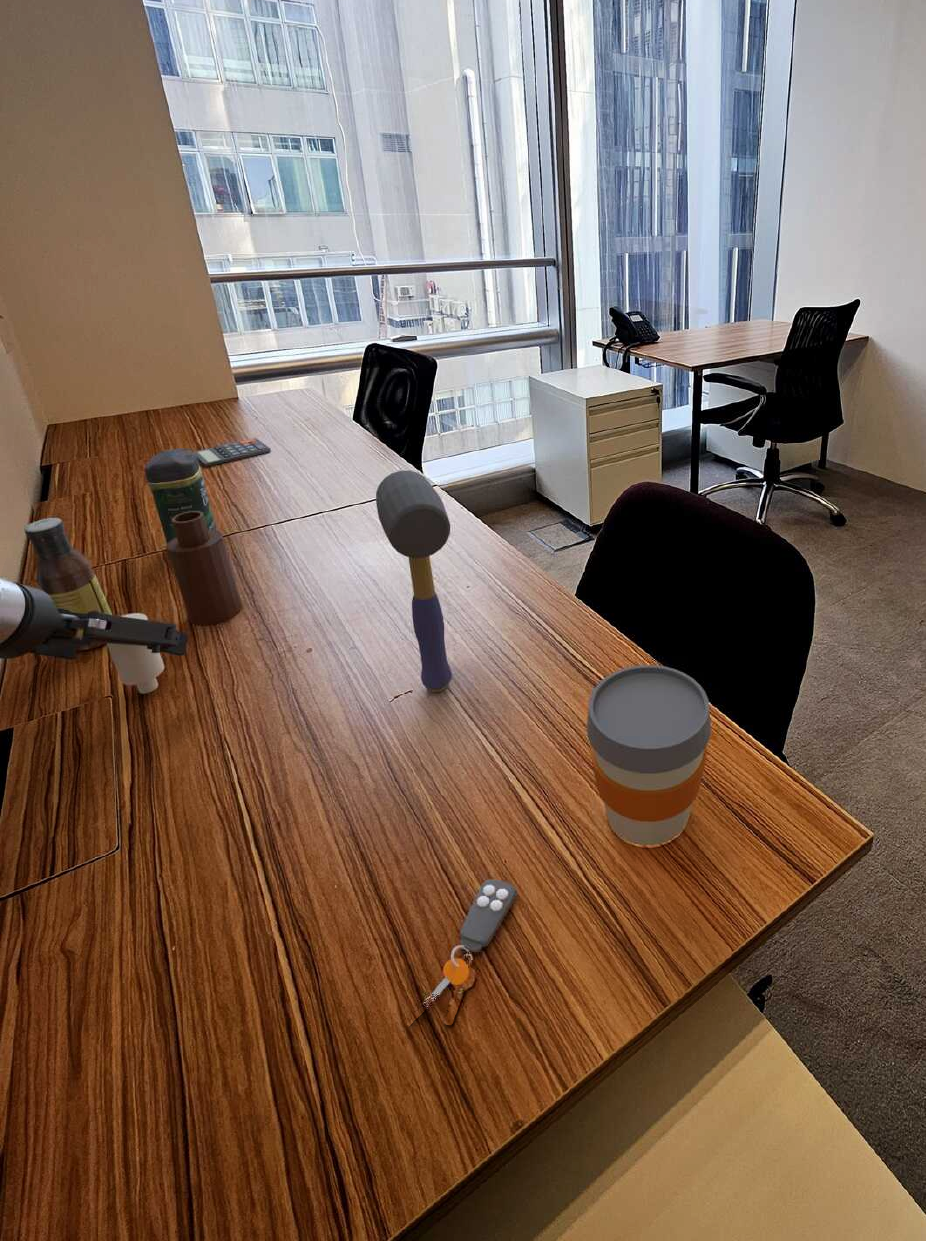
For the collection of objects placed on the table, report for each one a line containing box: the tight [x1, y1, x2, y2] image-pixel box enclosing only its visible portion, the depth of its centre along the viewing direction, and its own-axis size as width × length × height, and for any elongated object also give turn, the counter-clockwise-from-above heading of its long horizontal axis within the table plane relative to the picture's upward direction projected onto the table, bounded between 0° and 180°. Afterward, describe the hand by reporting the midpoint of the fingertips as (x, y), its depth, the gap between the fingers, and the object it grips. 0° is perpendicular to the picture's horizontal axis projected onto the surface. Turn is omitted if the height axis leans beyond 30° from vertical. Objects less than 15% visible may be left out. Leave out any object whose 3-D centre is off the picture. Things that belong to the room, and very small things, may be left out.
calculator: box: [192, 437, 272, 468], centre depth 172 cm, size 12×1×15 cm
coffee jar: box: [143, 447, 219, 544], centre depth 124 cm, size 10×8×19 cm
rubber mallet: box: [375, 470, 453, 693], centre depth 86 cm, size 12×8×30 cm, turn 27°
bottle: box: [165, 511, 243, 626], centre depth 104 cm, size 7×7×17 cm
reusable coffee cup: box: [586, 664, 712, 845], centre depth 70 cm, size 13×13×15 cm
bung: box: [106, 612, 165, 695], centre depth 89 cm, size 5×5×10 cm
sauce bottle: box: [24, 517, 113, 651], centre depth 97 cm, size 7×6×20 cm
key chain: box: [422, 878, 517, 1008], centre depth 59 cm, size 13×4×2 cm, turn 163°
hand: (129, 646), depth 88 cm, fingers open, 13 cm apart
